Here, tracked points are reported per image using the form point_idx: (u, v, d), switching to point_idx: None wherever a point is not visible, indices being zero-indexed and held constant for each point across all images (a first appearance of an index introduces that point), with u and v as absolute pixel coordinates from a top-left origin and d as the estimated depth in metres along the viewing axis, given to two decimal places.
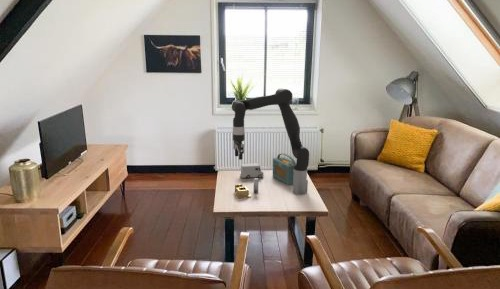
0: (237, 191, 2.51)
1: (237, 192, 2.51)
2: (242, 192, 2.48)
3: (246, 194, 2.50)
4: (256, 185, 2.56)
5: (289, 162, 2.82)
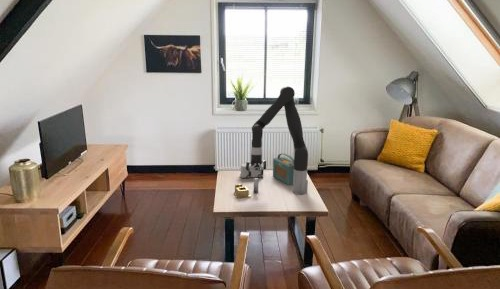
0: (237, 191, 2.51)
1: (237, 192, 2.51)
2: (242, 192, 2.48)
3: (246, 194, 2.50)
4: (256, 185, 2.56)
5: (289, 162, 2.83)
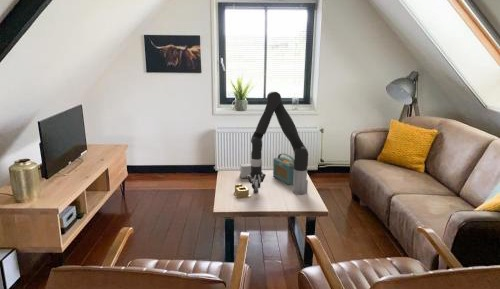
0: (237, 191, 2.51)
1: (237, 192, 2.51)
2: (242, 192, 2.48)
3: (246, 194, 2.50)
4: (256, 185, 2.56)
5: (290, 162, 2.83)
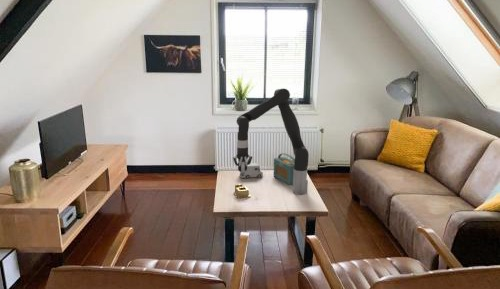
0: (237, 191, 2.51)
1: (237, 192, 2.51)
2: (242, 192, 2.48)
3: (246, 194, 2.50)
4: (242, 168, 2.47)
5: (290, 162, 2.83)
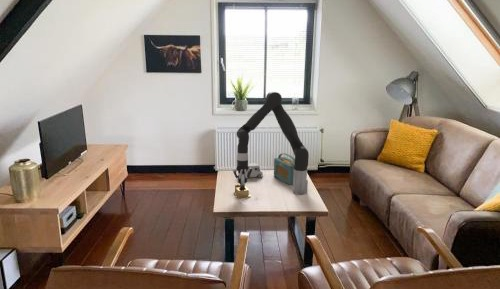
0: (237, 191, 2.51)
1: (237, 192, 2.51)
2: (242, 192, 2.48)
3: (246, 194, 2.50)
4: (242, 180, 2.49)
5: (290, 162, 2.83)
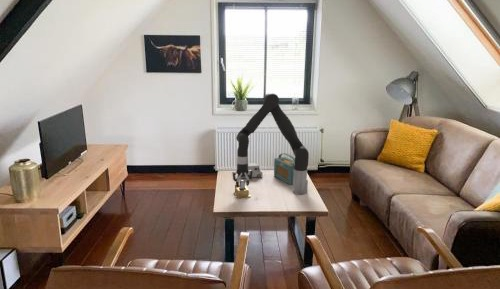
0: (237, 191, 2.51)
1: (237, 192, 2.51)
2: (242, 192, 2.48)
3: (246, 194, 2.50)
4: (242, 187, 2.50)
5: (291, 162, 2.83)
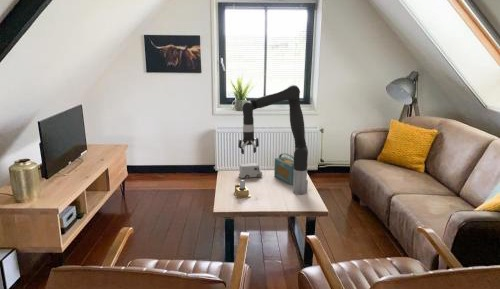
0: (237, 191, 2.51)
1: (237, 192, 2.51)
2: (242, 192, 2.48)
3: (246, 194, 2.50)
4: (242, 187, 2.50)
5: (291, 162, 2.83)
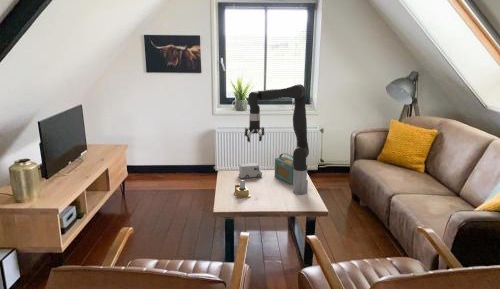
0: (237, 191, 2.51)
1: (237, 192, 2.51)
2: (242, 192, 2.48)
3: (246, 194, 2.50)
4: (242, 187, 2.50)
5: (291, 162, 2.83)
